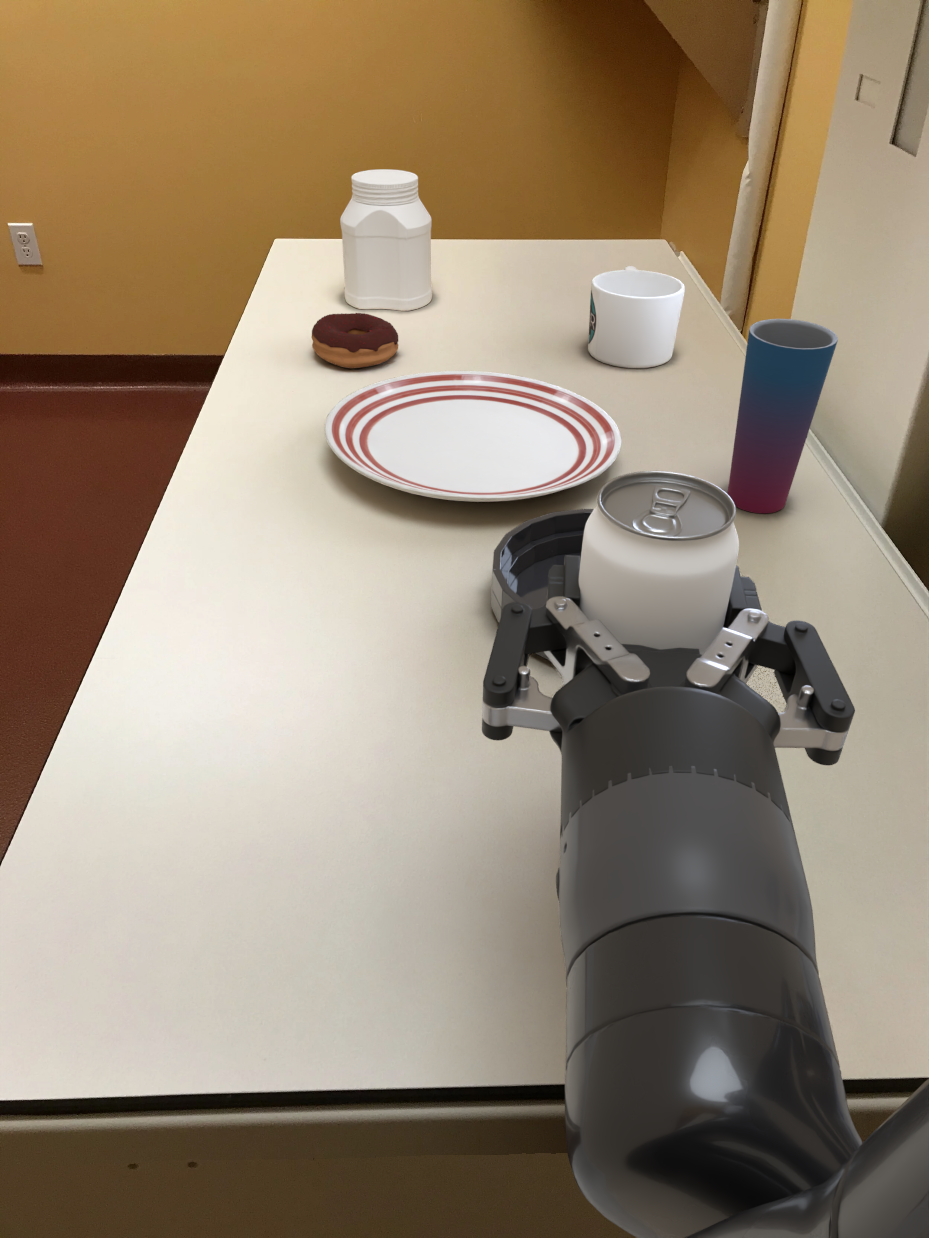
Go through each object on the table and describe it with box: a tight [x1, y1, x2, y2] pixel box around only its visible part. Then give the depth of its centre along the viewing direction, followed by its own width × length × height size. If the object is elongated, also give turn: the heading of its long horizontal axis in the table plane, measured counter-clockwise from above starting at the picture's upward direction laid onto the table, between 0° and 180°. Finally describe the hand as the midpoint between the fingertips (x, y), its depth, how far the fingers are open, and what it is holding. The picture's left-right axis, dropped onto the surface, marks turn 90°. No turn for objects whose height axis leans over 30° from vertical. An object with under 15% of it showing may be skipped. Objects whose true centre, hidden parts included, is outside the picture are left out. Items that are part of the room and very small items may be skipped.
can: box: [579, 470, 740, 655], centre depth 43 cm, size 6×6×12 cm
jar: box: [339, 168, 433, 312], centre depth 123 cm, size 12×10×15 cm
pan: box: [490, 508, 595, 662], centre depth 70 cm, size 16×16×4 cm
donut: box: [311, 312, 399, 369], centre depth 109 cm, size 10×10×4 cm
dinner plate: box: [324, 370, 622, 503], centre depth 90 cm, size 27×27×3 cm
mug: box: [587, 265, 686, 369], centre depth 111 cm, size 13×10×8 cm
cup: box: [727, 318, 839, 514], centre depth 80 cm, size 7×7×15 cm
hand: (647, 577), depth 44 cm, fingers closed on can, 6 cm apart
